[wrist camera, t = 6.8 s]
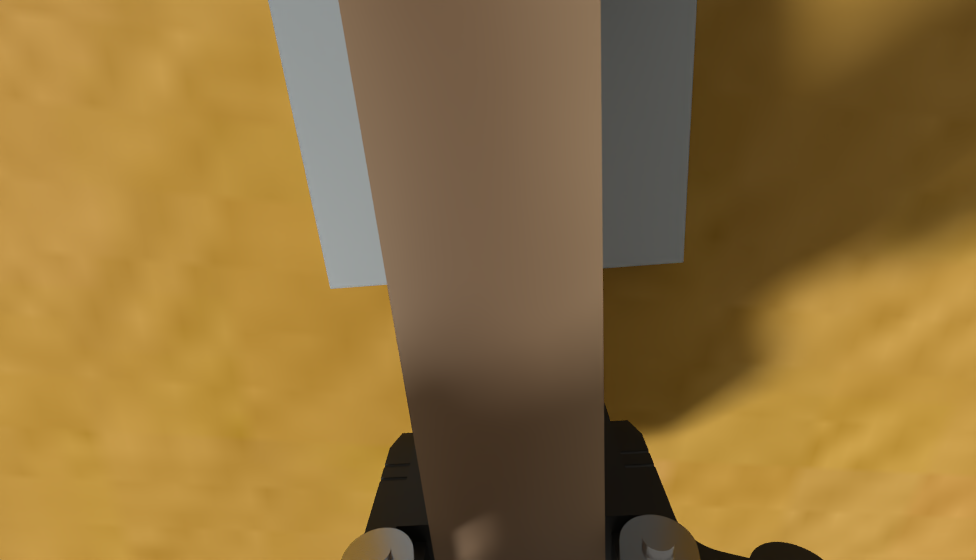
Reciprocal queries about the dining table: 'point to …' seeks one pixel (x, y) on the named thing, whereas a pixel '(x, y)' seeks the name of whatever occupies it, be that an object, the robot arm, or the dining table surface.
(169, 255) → the dining table surface
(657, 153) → the base plate
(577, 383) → the shaft
